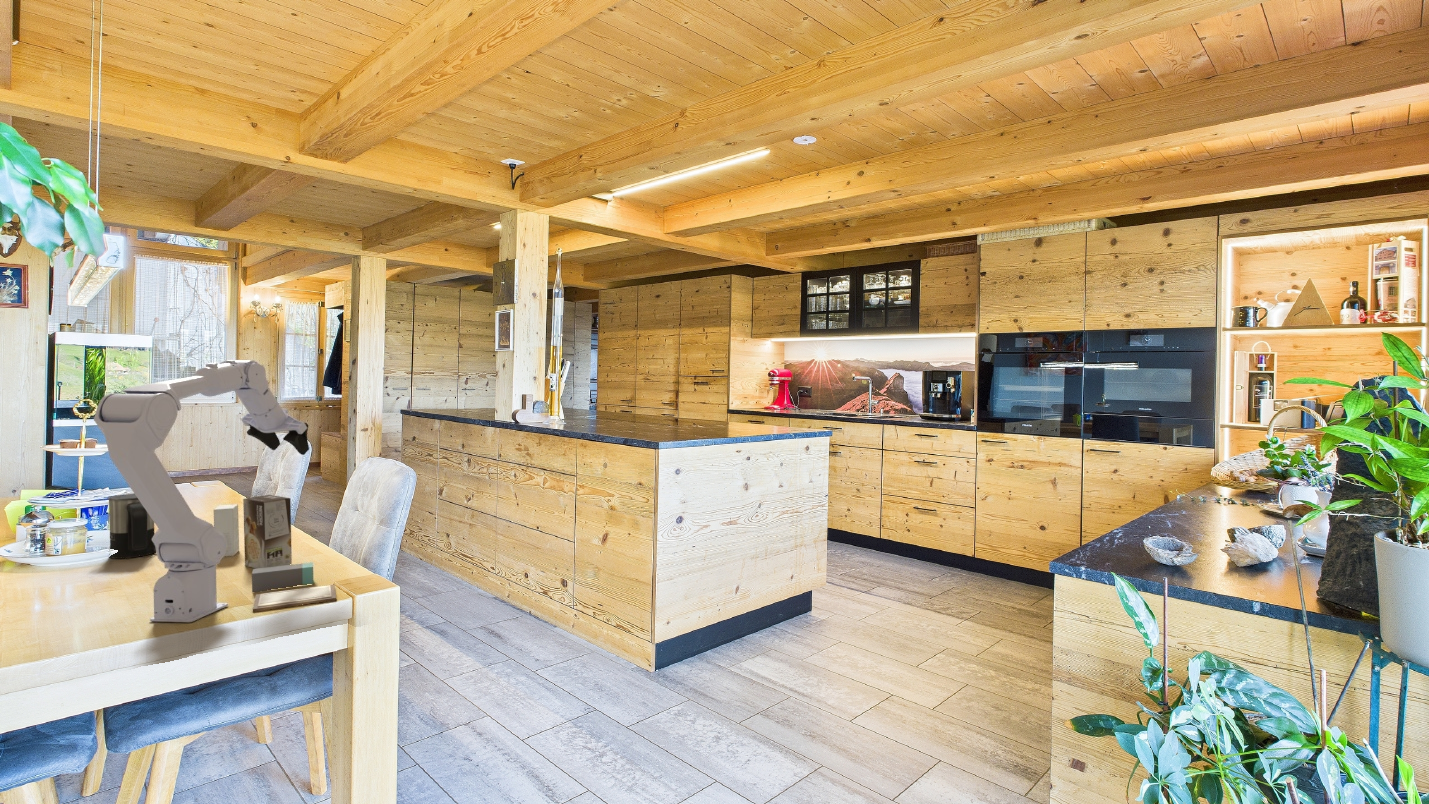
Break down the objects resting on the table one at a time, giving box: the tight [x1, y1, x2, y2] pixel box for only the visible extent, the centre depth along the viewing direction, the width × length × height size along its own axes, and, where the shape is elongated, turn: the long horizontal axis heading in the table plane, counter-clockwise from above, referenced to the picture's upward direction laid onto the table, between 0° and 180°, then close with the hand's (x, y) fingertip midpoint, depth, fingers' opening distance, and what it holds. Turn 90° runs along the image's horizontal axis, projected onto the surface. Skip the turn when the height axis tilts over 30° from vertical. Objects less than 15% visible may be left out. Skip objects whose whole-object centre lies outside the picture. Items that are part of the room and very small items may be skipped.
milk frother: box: [106, 492, 156, 559], centre depth 174 cm, size 14×16×15 cm
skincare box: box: [213, 503, 240, 558], centre depth 173 cm, size 6×4×12 cm
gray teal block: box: [251, 561, 314, 593], centre depth 148 cm, size 11×4×4 cm, turn 121°
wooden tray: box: [252, 584, 337, 613], centre depth 140 cm, size 14×10×1 cm
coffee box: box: [242, 494, 293, 569], centre depth 164 cm, size 9×6×16 cm
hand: (290, 449), depth 159 cm, fingers open, 7 cm apart
